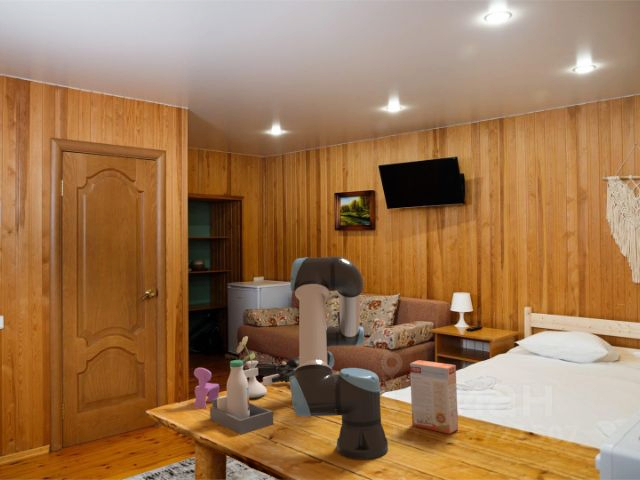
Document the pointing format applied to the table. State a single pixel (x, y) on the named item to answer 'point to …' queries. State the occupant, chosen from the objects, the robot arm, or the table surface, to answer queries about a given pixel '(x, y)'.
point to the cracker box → (434, 396)
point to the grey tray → (255, 421)
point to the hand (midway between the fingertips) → (252, 378)
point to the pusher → (222, 403)
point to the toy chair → (204, 388)
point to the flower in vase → (253, 384)
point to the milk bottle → (237, 391)
